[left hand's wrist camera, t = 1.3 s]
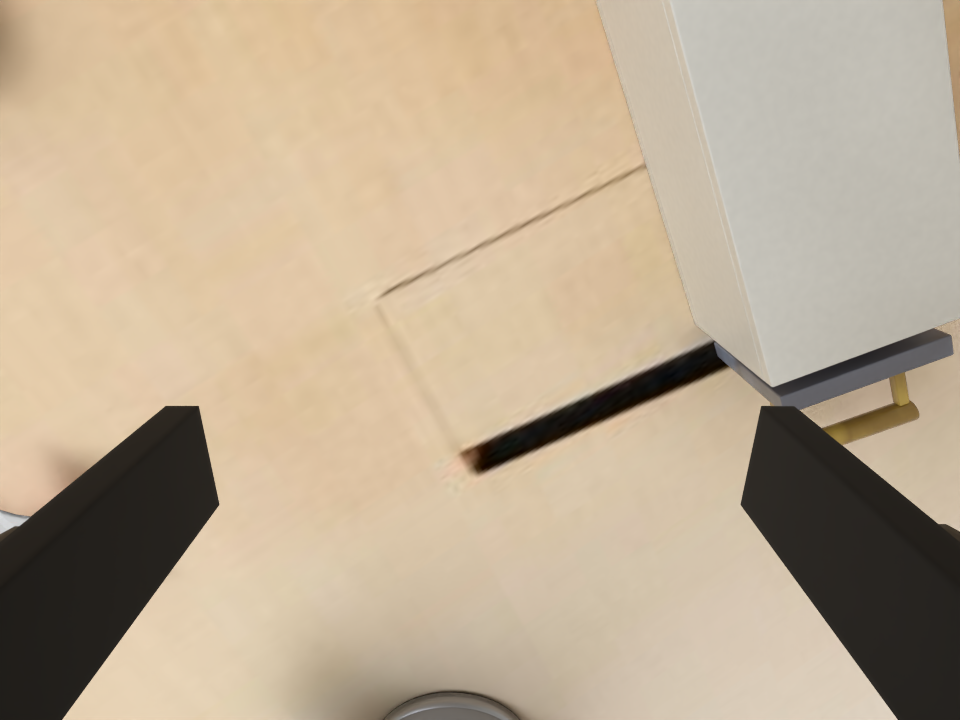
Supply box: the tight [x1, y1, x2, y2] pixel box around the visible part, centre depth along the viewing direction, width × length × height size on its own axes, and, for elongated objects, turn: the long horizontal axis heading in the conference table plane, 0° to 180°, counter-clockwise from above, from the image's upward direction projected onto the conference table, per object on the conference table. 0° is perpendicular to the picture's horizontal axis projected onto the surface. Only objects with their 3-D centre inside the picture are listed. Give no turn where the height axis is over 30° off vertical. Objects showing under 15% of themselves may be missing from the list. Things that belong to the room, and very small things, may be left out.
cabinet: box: [596, 0, 960, 387], centre depth 28 cm, size 21×10×11 cm, turn 24°
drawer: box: [714, 328, 954, 445], centre depth 30 cm, size 26×9×9 cm, turn 24°
